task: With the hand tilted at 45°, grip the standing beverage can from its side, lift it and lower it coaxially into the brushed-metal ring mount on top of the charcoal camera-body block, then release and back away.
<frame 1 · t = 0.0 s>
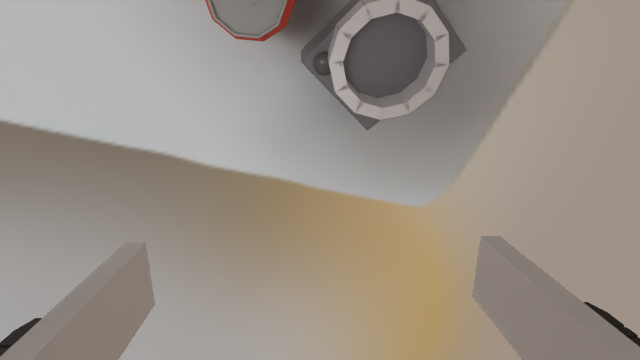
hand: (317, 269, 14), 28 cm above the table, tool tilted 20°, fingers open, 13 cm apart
mount: (376, 45, 36), on the table
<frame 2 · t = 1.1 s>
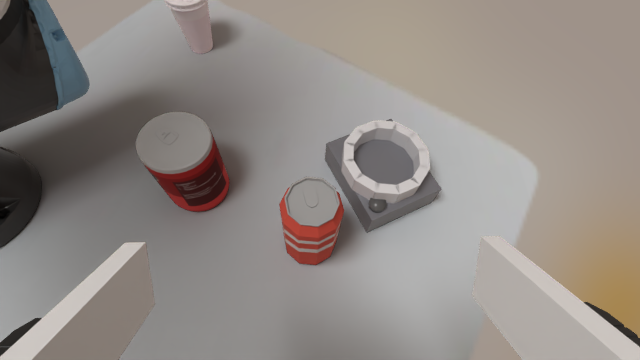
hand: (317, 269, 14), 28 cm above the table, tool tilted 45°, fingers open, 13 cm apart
smoothie: (202, 46, 59), on the table
canned food: (201, 187, 46), on the table
beverage can: (310, 241, 43), on the table
mount: (376, 180, 48), on the table
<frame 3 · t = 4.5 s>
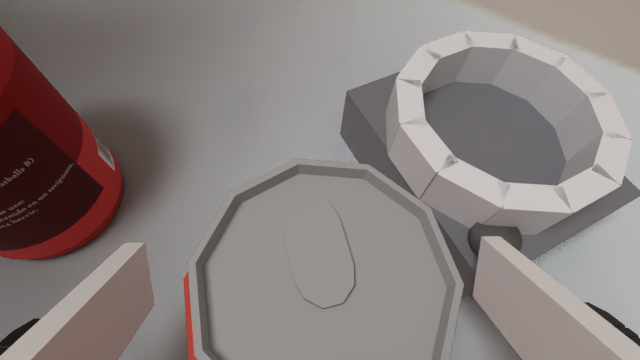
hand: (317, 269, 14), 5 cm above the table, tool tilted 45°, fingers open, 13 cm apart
canned food: (59, 199, 20), on the table
beverage can: (312, 332, 17), on the table
mount: (455, 176, 22), on the table
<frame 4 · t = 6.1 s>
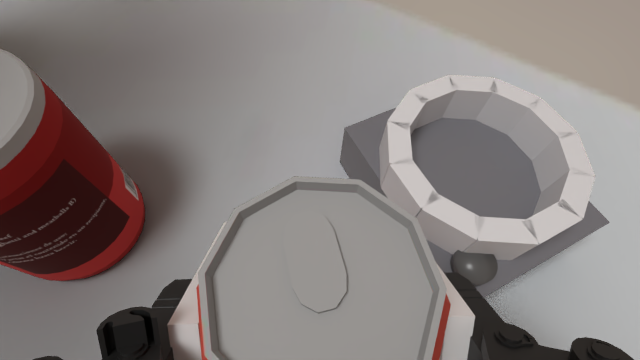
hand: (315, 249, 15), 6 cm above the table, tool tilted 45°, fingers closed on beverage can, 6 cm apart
canned food: (88, 225, 22), on the table
beverage can: (324, 335, 18), point 2 cm above the table, touching gripper
mount: (445, 201, 24), on the table
when the fingers open (9 cm above the table, at t = 9.9 s): beverage can stays where it is, resting on mount.
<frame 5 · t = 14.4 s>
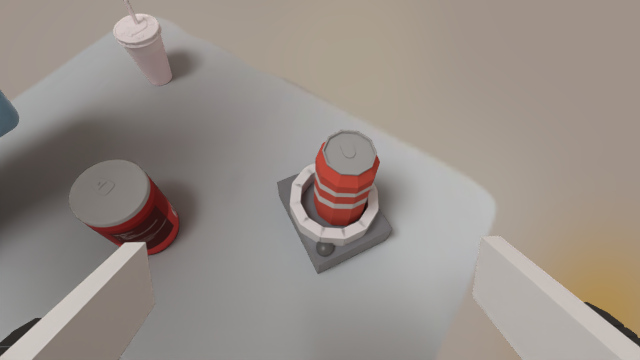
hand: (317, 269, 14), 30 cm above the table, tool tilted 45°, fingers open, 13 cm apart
smoothie: (161, 78, 58), on the table
canned food: (151, 228, 45), on the table
beverage can: (338, 205, 44), point 4 cm above the table, touching mount
mount: (330, 217, 47), on the table
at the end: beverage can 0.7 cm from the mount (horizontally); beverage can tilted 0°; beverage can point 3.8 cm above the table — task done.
